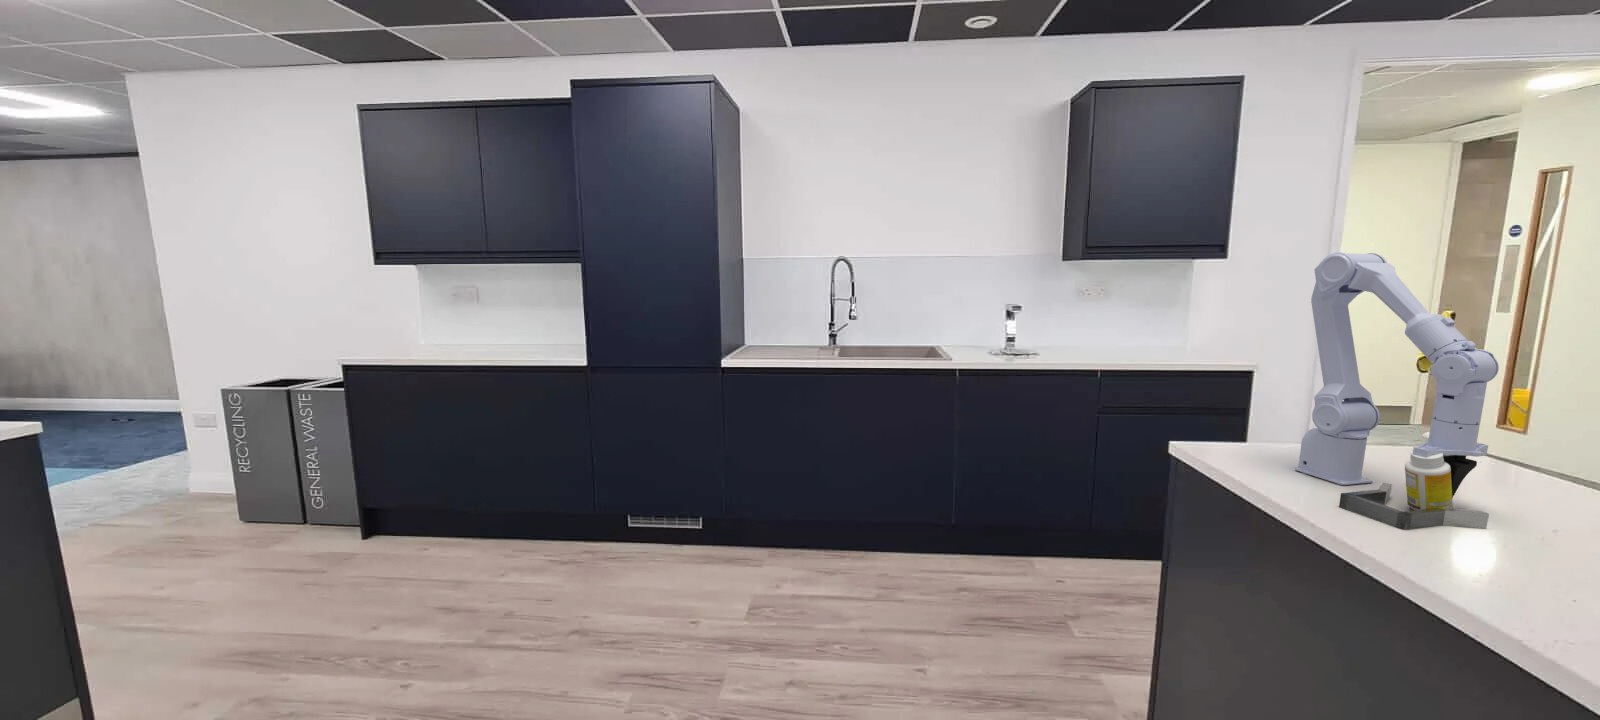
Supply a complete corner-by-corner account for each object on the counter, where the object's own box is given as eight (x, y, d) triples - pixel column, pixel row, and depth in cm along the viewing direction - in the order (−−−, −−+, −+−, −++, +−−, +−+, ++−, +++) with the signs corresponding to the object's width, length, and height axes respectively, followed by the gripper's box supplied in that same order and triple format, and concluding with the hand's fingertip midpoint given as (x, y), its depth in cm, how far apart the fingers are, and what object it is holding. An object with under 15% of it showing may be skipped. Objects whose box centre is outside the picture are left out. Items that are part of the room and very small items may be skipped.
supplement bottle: (1459, 505, 108) (1457, 450, 106) (1442, 519, 106) (1440, 463, 104) (1417, 496, 113) (1414, 443, 111) (1400, 509, 111) (1396, 455, 109)
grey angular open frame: (1323, 501, 114) (1325, 488, 114) (1383, 495, 118) (1385, 482, 117) (1423, 536, 100) (1426, 521, 99) (1488, 528, 103) (1491, 513, 103)
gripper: (1453, 429, 103) (1440, 509, 105) (1516, 424, 106) (1502, 502, 108) (1403, 418, 110) (1391, 494, 112) (1463, 414, 113) (1451, 488, 115)
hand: (1442, 497), depth 111 cm, fingers closed
